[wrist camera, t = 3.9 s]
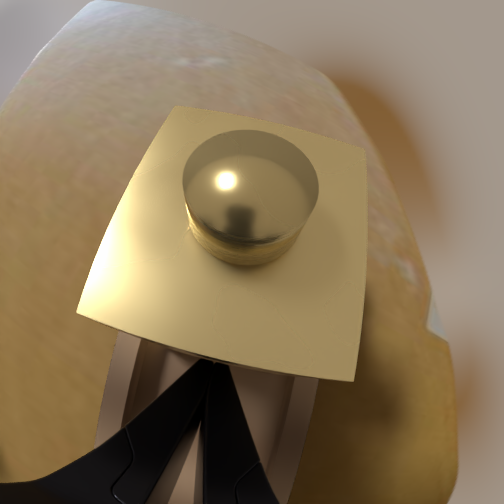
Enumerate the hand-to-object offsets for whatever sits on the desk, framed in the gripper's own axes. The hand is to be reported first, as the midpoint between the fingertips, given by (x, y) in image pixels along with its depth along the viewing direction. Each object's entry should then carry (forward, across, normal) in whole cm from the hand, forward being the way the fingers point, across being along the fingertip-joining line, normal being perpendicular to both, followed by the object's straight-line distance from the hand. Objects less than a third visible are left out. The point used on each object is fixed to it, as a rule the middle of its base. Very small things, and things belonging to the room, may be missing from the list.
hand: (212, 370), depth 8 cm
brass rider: (+5, 0, +1) cm, 5 cm away
